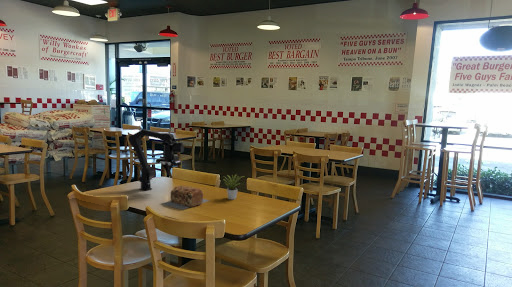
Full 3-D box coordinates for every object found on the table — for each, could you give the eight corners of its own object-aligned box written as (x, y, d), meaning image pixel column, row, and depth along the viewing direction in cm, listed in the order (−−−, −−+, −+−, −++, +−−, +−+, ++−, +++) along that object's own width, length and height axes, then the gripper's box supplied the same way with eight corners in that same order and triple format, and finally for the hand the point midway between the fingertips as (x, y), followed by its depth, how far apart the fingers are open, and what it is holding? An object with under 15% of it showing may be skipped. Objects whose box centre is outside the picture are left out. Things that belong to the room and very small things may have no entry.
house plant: (241, 194, 247) (242, 171, 245) (247, 200, 234) (247, 175, 232) (220, 195, 243) (221, 171, 241) (225, 201, 230) (226, 176, 228)
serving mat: (160, 204, 220) (160, 203, 220) (188, 196, 240) (188, 195, 240) (182, 210, 210) (182, 209, 210) (209, 201, 230) (209, 200, 230)
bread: (203, 204, 222) (203, 188, 220) (190, 208, 213) (190, 191, 212) (182, 198, 233) (182, 183, 231) (169, 201, 224) (169, 186, 223)
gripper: (186, 152, 247) (186, 174, 249) (167, 149, 257) (167, 170, 259) (174, 153, 238) (174, 177, 240) (155, 150, 248) (155, 173, 250)
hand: (168, 174), depth 247 cm, fingers closed
